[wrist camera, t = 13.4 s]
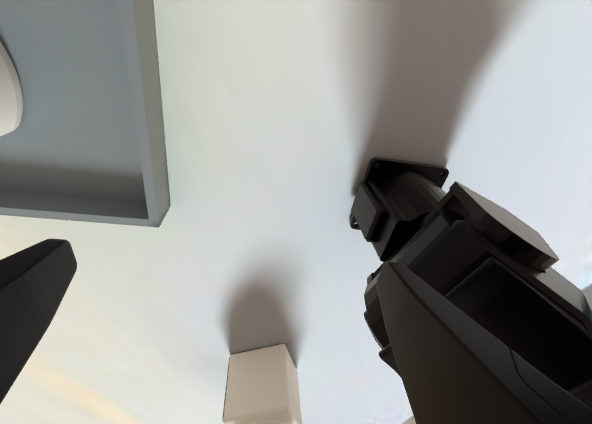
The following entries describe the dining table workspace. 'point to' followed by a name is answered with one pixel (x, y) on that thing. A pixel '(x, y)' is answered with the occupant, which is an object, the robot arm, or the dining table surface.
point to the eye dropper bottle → (9, 94)
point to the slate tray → (85, 113)
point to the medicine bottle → (262, 388)
